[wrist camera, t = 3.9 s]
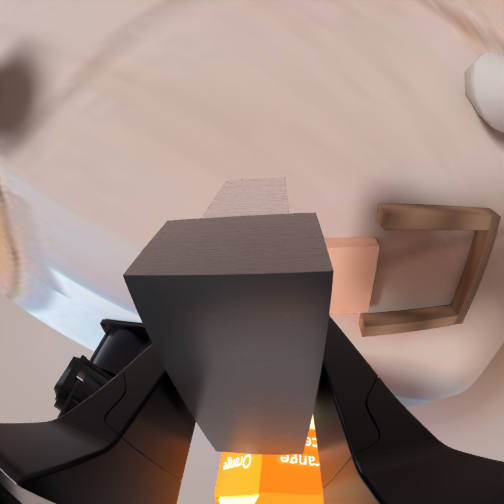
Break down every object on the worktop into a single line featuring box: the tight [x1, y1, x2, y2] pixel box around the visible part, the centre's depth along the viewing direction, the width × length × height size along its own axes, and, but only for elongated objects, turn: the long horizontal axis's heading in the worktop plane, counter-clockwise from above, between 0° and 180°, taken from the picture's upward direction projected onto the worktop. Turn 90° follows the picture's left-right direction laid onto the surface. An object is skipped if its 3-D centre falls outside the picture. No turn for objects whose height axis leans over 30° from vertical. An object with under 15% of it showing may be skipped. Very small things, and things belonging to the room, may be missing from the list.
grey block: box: [123, 178, 334, 455], centre depth 8 cm, size 3×8×6 cm, turn 5°
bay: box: [359, 204, 500, 337], centre depth 18 cm, size 11×11×2 cm
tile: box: [324, 237, 380, 315], centre depth 20 cm, size 6×6×2 cm
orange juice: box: [214, 415, 324, 504], centre depth 18 cm, size 8×9×20 cm
